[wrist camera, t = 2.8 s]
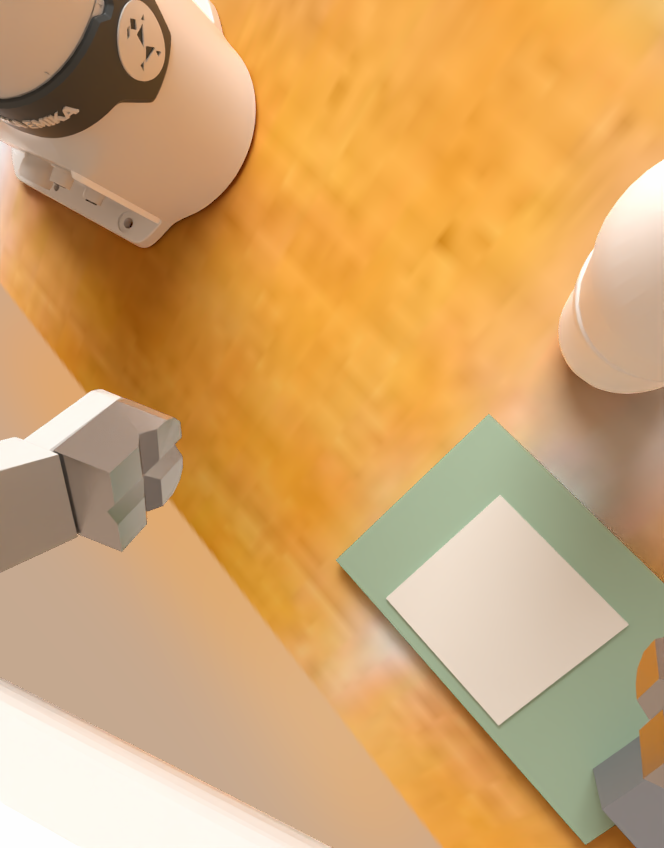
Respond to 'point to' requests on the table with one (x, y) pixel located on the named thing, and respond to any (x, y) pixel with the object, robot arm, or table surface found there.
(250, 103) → the robot arm
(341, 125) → the table surface
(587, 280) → the water bottle
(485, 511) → the green board with pad
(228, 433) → the table surface
